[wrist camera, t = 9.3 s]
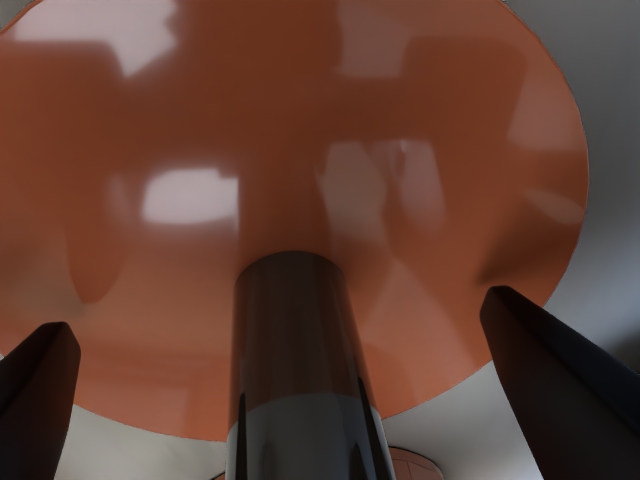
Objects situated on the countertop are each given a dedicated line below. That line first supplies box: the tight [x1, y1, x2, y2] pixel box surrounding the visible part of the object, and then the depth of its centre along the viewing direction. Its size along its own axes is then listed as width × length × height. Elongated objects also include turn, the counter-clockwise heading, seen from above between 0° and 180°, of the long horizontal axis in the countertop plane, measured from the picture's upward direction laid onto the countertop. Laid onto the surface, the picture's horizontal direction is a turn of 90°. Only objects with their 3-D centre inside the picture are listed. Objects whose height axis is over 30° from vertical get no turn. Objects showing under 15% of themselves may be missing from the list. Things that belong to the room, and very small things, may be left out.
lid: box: [0, 0, 590, 480], centre depth 8 cm, size 14×14×6 cm
